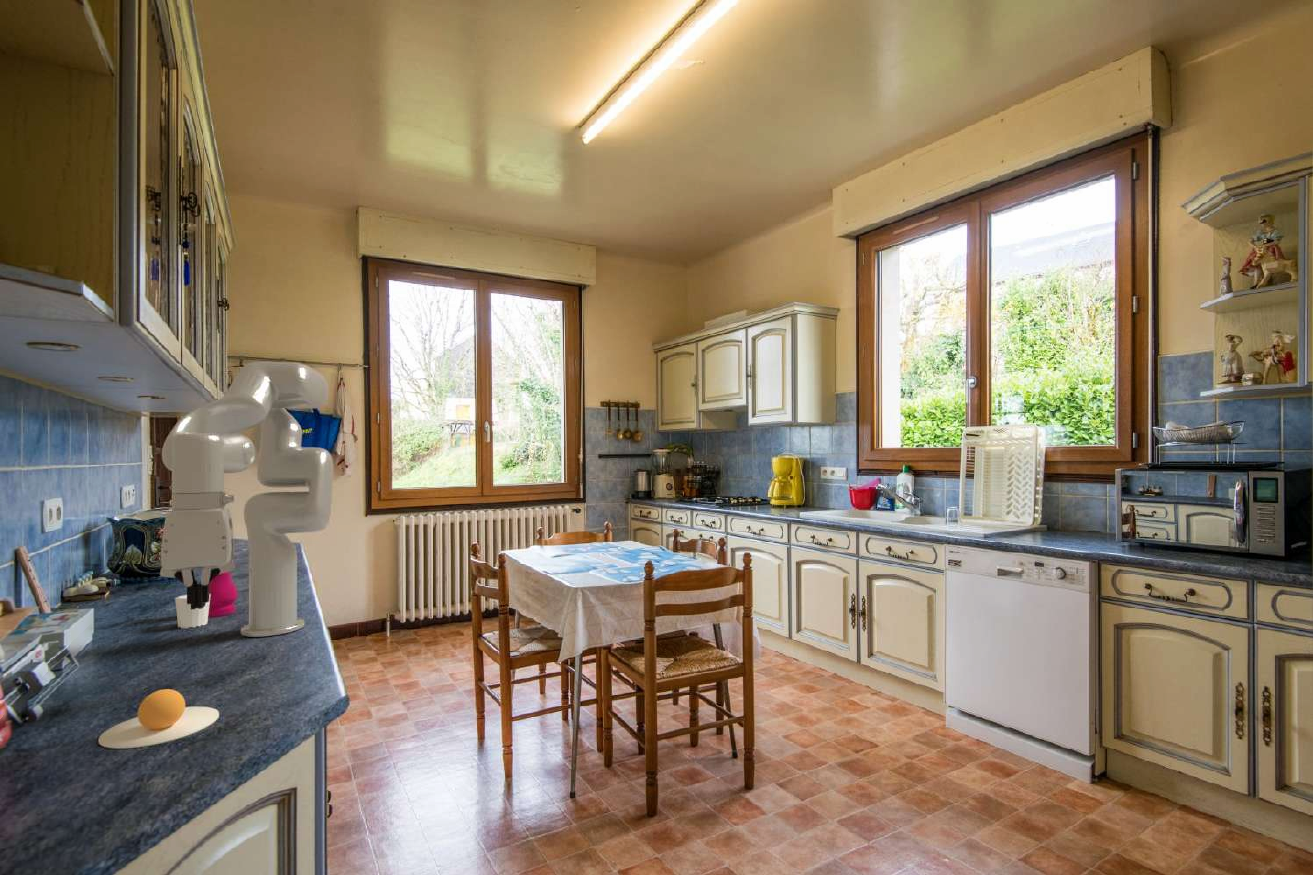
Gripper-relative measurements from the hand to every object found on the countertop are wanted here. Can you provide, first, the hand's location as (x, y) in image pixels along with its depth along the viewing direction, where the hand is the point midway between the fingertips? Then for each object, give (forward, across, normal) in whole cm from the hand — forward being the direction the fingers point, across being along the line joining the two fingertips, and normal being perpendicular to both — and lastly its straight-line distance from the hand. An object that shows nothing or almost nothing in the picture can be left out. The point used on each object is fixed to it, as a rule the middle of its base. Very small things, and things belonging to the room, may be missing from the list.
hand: (198, 607), depth 112 cm
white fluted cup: (+14, +10, -50) cm, 53 cm away
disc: (+13, +1, +19) cm, 23 cm away
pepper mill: (+14, +6, -60) cm, 62 cm away
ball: (+11, +1, +20) cm, 22 cm away
